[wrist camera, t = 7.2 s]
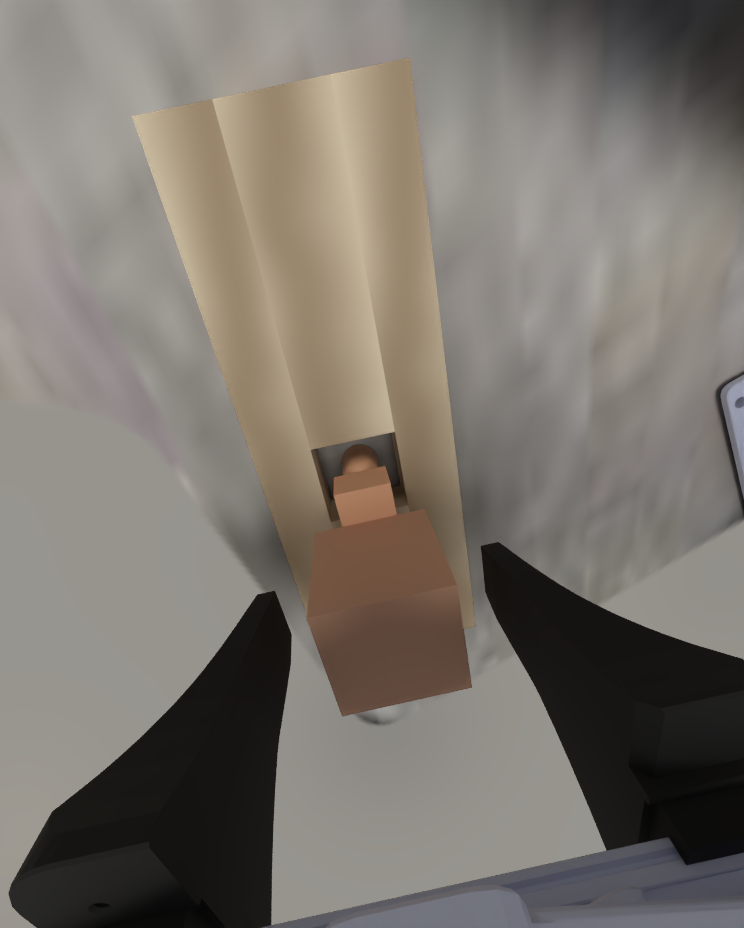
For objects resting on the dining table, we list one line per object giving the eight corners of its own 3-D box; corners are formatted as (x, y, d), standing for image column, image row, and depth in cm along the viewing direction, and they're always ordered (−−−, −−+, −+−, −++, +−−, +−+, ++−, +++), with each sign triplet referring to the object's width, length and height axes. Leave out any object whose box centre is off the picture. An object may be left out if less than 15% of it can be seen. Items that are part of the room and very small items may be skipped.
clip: (398, 435, 17) (451, 544, 9) (420, 552, 20) (475, 714, 12) (312, 454, 17) (292, 579, 9) (345, 569, 20) (351, 742, 12)
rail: (398, 94, 13) (409, 57, 11) (463, 598, 21) (475, 626, 19) (162, 144, 12) (131, 116, 11) (323, 629, 21) (322, 660, 19)
